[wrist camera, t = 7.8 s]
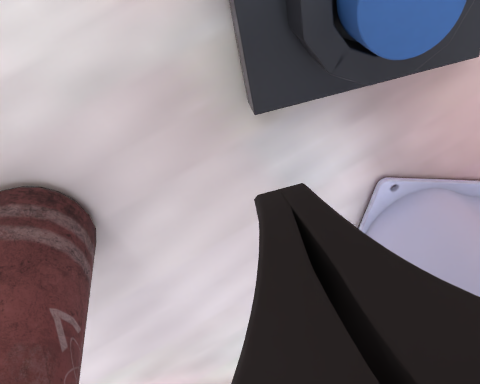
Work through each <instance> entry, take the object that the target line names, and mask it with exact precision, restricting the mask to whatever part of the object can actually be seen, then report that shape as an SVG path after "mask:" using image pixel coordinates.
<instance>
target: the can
mask: <svg viewBox="0 0 480 384" xmlns="http://www.w3.org/2000/svg"><path fill="white" fill-rule="evenodd" d="M95 247H96V228H95V226H94V224H93V222H92V220H91V218H90V216H89V215H88V214H87V212H86V211H85V210H84V209H83V208H82V207H81V206H80V205H79V204H78V203H76V202H75V201H74V200H73V199H71V198H69V197H67V196H66V195H64V194H62V193H60V192H58V191H54V190H50V189H46V188H43V187H18V188H14V189H9V190H4V191H0V384H79V377H80V369H81V361H82V353H83V345H84V337H85V328H86V320H87V312H88V304H89V296H90V288H91V279H92V271H93V263H94V255H95Z"/></svg>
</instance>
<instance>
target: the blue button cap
mask: <svg viewBox="0 0 480 384" xmlns="http://www.w3.org/2000/svg"><path fill="white" fill-rule="evenodd" d="M465 3H466V0H337V12H338V16H339V19H340V22H341V24H342V26H343V28H344V29H345V31H346V32H347V33H348V34H349V35H350V36H351V37H352V38H353V39H355V40H356V41H357V42H359V43H360V44H362V45H363V46H364V47H366V48H367V49H369V50H370V51H371V52H373V53H374V54H376V55H377V56H380V57H382V58H385V59H389V60H404V59H409V58H413V57H416V56H418V55H421V54H423V53H425V52H426V51H428V50H430V49H431V48H433V47H434V46H435V45H437V44H438V43H439V42H440V41H441V40H442V39H443V38H444V37H445V36H446V35H447V34H448V33H449V32H450V30H451V29H452V28H453V26H454V25H455V23H456V22H457V20H458V19H459V17H460V15H461V13H462V11H463V8H464V6H465Z"/></svg>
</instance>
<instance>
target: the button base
mask: <svg viewBox="0 0 480 384" xmlns="http://www.w3.org/2000/svg"><path fill="white" fill-rule="evenodd" d="M229 3H230V8H231V13H232V19H233V24H234V29H235V34H236V40H237V45H238V50H239V56H240V61H241V66H242V72H243V77H244V82H245V88H246V93H247V98H248V102H249V104H250V106H251V108H252V110H253V112H254V114H255V115H257V114H261V113H265V112H269V111H273V110H277V109H280V108H284V107H288V106H292V105H296V104H300V103H303V102H307V101H311V100H315V99H319V98H323V97H326V96H330V95H334V94H338V93H342V92H346V91H349V90H353V89H357V88H361V87H365V86H369V85H373V84H377V83H380V82H384V81H388V80H392V79H396V78H400V77H404V76H407V75H411V74H415V73H419V72H422V71H426V70H430V69H434V68H438V67H442V66H445V65H449V64H453V63H457V62H461V61H465V60H468V59H472V58H476V57H479V54H480V0H466V3H465V6H464V8H463V11H462V13H461V15H460V17H459V19H458V20H457V22H456V23H455V25H454V26H453V28H452V29H451V30H450V32H449V33H448V34H447V35H446V36H445V37H444V38H443V39H442V40H441V41H440V42H439V43H438V44H437V45H435V46H434V47H433V48H431V49H430V50H428V51H426V52H425V53H423V54H421V55H418V56H416V57H413V58H409V59H404V60H389V59H385V58H382V57H380V56H377V55H376V54H374V53H373V52H371V51H370V50H369V49H367V48H366V47H364V46H363V45H362V44H360V43H359V42H357V41H356V40H355V39H353V38H352V37H351V36H350V35H349V34H348V33H347V32H346V31H345V29H344V28H343V26H342V24H341V22H340V19H339V16H338V12H337V0H229Z"/></svg>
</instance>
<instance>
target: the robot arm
mask: <svg viewBox="0 0 480 384" xmlns="http://www.w3.org/2000/svg"><path fill="white" fill-rule="evenodd" d="M393 185H395V186H394V187H392V186H393ZM391 187H392V188H391ZM254 201H255V205H256V210H257V215H258V220H259V260H258V270H257V280H256V287H255V294H254V300H253V305H252V310H251V315H250V320H249V324H248V328H247V332H246V336H245V340H244V344H243V348H242V352H241V355H240V358H239V361H238V365H237V368H236V371H235V374H234V377H233V380H232V383H231V384H480V181H475V180H446V179H417V178H389V177H387V178H383V179H381V180H380V181H379V182H378V183H377V185H376V188H375V190H374V193H373V195H372V197H371V200H370V202H369V205H368V207H367V210H366V212H365V214H364V217H363V219H362V222H361V224H360V227H359V229H358V228H357V227H355V226H354V225H353V224H351V223H350V222H349V221H347V220H346V219H345V218H343V217H342V216H341V215H340V214H338V213H337V212H336V211H335V210H334V209H332V208H331V207H330V206H329V205H328V204H326V203H325V202H324V201H323V200H322V199H321V198H319V197H318V196H317V195H316V194H315V193H314V192H313V191H312V190H311V189H310V188H308V187H307V186H306V185H305V184H303V183H301V184H297V185H293V186H290V187H286V188H282V189H278V190H275V191H271V192H267V193H264V194H260V195H257V197H256V198H255V199H254Z"/></svg>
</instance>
